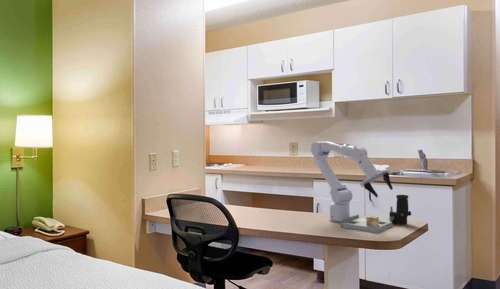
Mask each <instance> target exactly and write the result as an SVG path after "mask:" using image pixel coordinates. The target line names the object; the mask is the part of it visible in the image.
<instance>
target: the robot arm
mask: <svg viewBox="0 0 500 289" xmlns="http://www.w3.org/2000/svg"><path fill="white" fill-rule="evenodd" d="M331 151H334V152H339V153H340V155H341V156H344V157H347V158H350V159H352V160H353V161H355V162H356V163H357V164H358V166H359V168H360V169H361V170H362V172H363V174H364V175H365V177H366V179H364V180H363V181H361V182H360V183H359V185H360V187H361V188H364V189H365V190H366V191H368V192H370V193H371V194H372V195H373V196H374V197H375V198H379V197H378V196H379V195H378V193H377V192H376V191H375V189H374V187H373V186H372V184H371V183H373V182H375V181H377V180H379V179H381V178H383V181H384V182H385V183H386V184H387V187H388V188H389V189H390V191H392V190H393V189H394V188H393V186H392V183H391V179H390V170H389V169H388V168H386V169H384V170H381V171H378V170H377V168H376V167H375V165H374V164H373V162H372V160H371V159H370V158H369V156H368V151H367V149H366V148H364V147H357V146H356V145H354V146H353V145H350V143H345V144H343V145H340V144H338V143H335V142H332V141H327V140H325V141H313V142H312V143H311V146H310V152H311V154H312V156H313V159H314V163H315V164H316V166H317V168H318V169H319V171H320V173H322V175H323V177H324V179H325V181H326V182H327V184H328V186H329V187H330V190H329V195H330V196H331V199H332V202H331V204H330V206H329V219H328V220H329V221H332V222H338V223H339V222H340V223H341V220H342V219H345V218H348V217H351V214H350V203H351V201H352V200H353V193H352V191H351V190H350V189H349V188H348V187H347V186H346V185H344V184H342V183H341V181H340V180H339V179H338V177H337V175H336V173H335V172H334V171H333V169H332V166H330V164H329V162H328V161H327V159H328V157H329V155H330V153H331Z"/></svg>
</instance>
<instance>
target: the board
mask: <svg viewBox="0 0 500 289" xmlns="http://www.w3.org/2000/svg"><path fill="white" fill-rule="evenodd" d="M340 223H341V225H340V226H341V228H344V229H349V230H351V229H352V230H357V231H363V232H370V233H376V234H377V233H379V232H381V231H384V230H387V229H389V228H391V227H393V224H392V222H390V220H389V221H388V220H380V219H379V225H378V226H375V227H373V226H367V224H366V218H364V217H360V216H359V214H355V215H352V216H351V215H350V217H348V218H345V219H342V220H341V222H340Z"/></svg>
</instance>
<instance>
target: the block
mask: <svg viewBox="0 0 500 289" xmlns="http://www.w3.org/2000/svg"><path fill="white" fill-rule="evenodd" d="M379 220H380V219H379V216H377V215H369V216H366V224H367V226H373V227H375V226H378V225H379Z"/></svg>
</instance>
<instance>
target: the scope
mask: <svg viewBox="0 0 500 289" xmlns="http://www.w3.org/2000/svg"><path fill="white" fill-rule="evenodd" d="M409 216H412V211H411V210H409V195H407V194H397V195H396V210H395V211H393V206H390V211H389V219H388V220H389V222H392V225H398V226H399V225H401V226H406V225H408V217H409Z"/></svg>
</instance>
